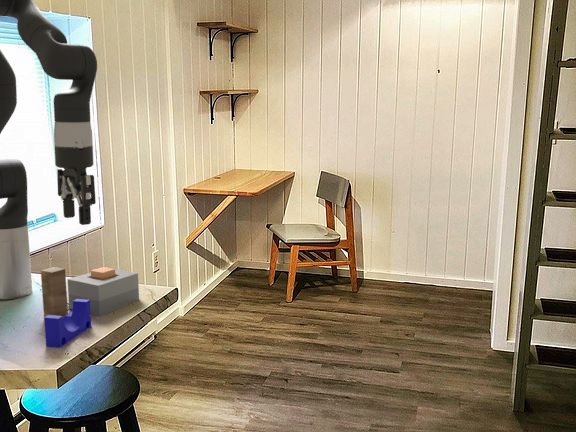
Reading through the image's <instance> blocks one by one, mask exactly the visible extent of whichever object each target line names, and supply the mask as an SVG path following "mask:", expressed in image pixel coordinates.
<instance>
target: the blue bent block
mask: <svg viewBox="0 0 576 432" xmlns="http://www.w3.org/2000/svg"><path fill="white" fill-rule="evenodd" d="M71 310H72V309H71ZM43 320H44V333H45V334H44V335H45V346H46V347H48V348H59V349H60V348H62V347H64V346H65V345H67V344H68V343H70V342H71V341H72V340H74V339H76V338H77V337H78V336H80V335H82V333H84V332H86V331H87V330H89V329H90V328H92V314H91V310H90V300H86V299H76V300H74V301H73V310H72V311H71V312H68V314H67V315H65V316H64V318H63V316H55V315H48V316H46V317H44V316H43Z"/></svg>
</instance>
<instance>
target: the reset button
mask: <svg viewBox="0 0 576 432" xmlns="http://www.w3.org/2000/svg"><path fill="white" fill-rule="evenodd" d="M115 269H116V268H113V269H112V267H106V266H105V267H104V266H103V267H99V268H95V269H91V270H90V273H91V277H94V278H98V280H105V279H109V278H108V277H112V276H115Z"/></svg>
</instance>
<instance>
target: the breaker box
mask: <svg viewBox="0 0 576 432" xmlns="http://www.w3.org/2000/svg"><path fill="white" fill-rule="evenodd" d="M111 268H112V267H111ZM112 269H115V276H112V277H108V278H109V279H105V280H98V278H94V277H91V272H87V273H84V274H80V275H77V276H74V277H71V278H66V281H67V293H68V294H67V295H68V296H67V297H68V310H73V301H74V300H76V299H86V300H90V310H91V315H94V316H97V317H102V316H104V315H107V314H108V313H111V312H114V311H115V310H118V309H120V308H122V307H124V306H127V305H130V304H132V303H134V302H137V301H139V300H140V291H139V290H140V289H139V287H140V286H139V273H138V272H135V271H134V272H133V271H127V270H123V269H118V268H112ZM131 302H132V303H131ZM129 303H130V304H129Z"/></svg>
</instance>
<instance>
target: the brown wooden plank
mask: <svg viewBox="0 0 576 432" xmlns="http://www.w3.org/2000/svg"><path fill="white" fill-rule="evenodd" d="M40 278H41V291H42V293H41V294H42V306H43V308H42V309H43V318H44V317H46V316H48V315H55V316H63V318H64V316H65V315H67V314H69V305H68V296H67V295H68V294H67V293H68V290H67V278H66V269H65V268H62V267H57V266H52V267H49V268H44V269H41V270H40Z"/></svg>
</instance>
